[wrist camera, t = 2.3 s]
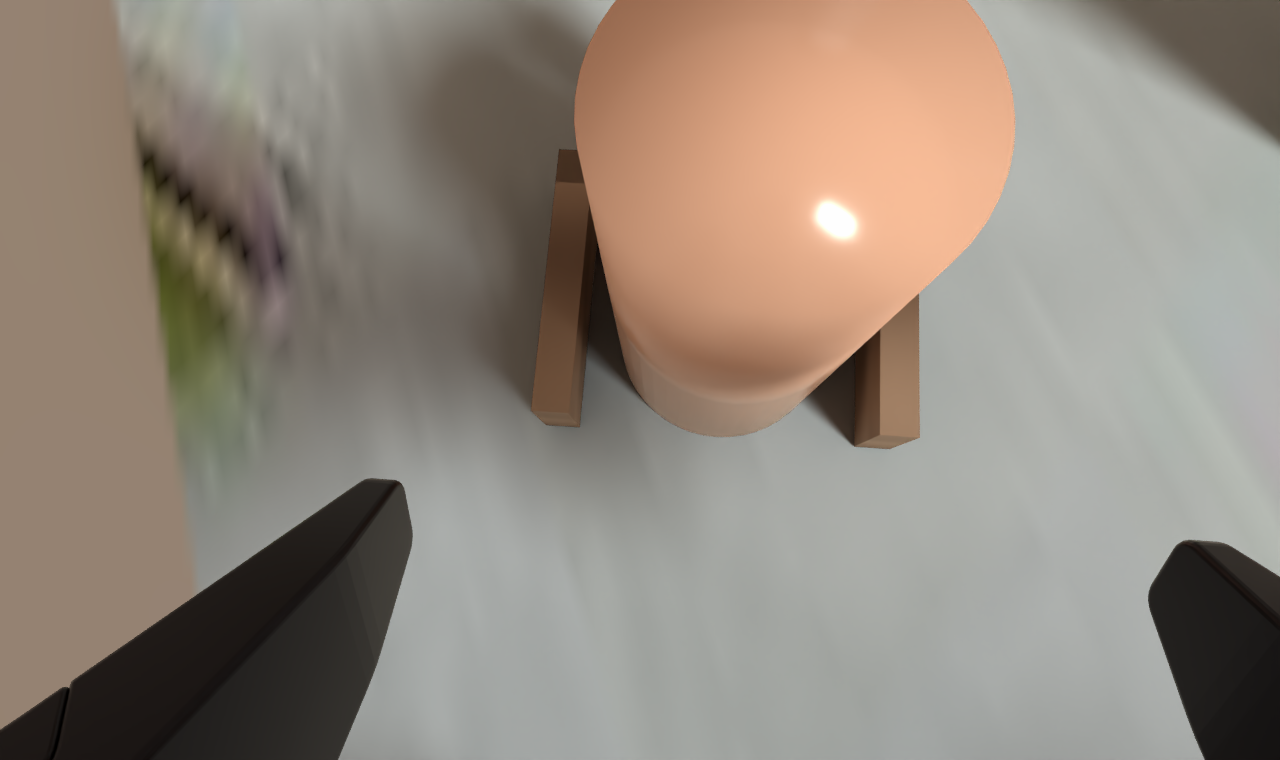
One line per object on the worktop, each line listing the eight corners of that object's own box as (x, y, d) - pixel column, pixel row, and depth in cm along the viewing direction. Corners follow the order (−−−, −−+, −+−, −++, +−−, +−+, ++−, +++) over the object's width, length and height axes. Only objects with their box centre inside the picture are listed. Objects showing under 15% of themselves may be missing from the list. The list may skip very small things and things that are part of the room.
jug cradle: (889, 448, 21) (919, 437, 18) (546, 424, 21) (530, 410, 19) (890, 208, 22) (918, 168, 20) (570, 190, 23) (558, 149, 20)
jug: (819, 444, 21) (1022, 332, 9) (613, 429, 21) (553, 302, 9) (826, 175, 23) (1003, -210, 11) (635, 164, 23) (608, -223, 11)
